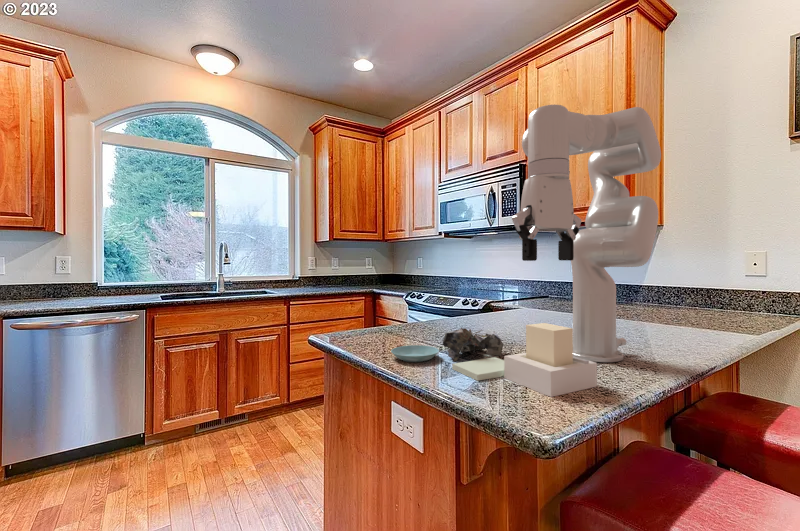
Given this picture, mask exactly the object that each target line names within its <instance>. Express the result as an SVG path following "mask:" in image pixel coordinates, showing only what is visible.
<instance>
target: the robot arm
mask: <svg viewBox="0 0 800 531" xmlns="http://www.w3.org/2000/svg"><path fill="white" fill-rule="evenodd" d="M521 148H522V150H523V153H524V154H525V156H526V157H527V179H525V180H524V183H523V187H522V188H523V189H522V194H521V200H520V211H518V212H517V213H515V214H514V215H512V216H511V220H512V222H513V225H514V226H515V227H514V229H515V232H516V233H517V234H518V235H519V236H518V237H519V240H521V242H522V243H521V256H522V258H521V259H522V261H525V262H526V261H527V262H531V261H532V262H535V261H537V260H538V240H537V239H536V236H537V234H538V232H543V233H544V232H547V233H548V232H551V233H552V232H556V233H557V235H558V237H559V239H560V240H558V247H557V248H558V249H557V250H558V251H557V252H558V254H557V255H558V257H557V258H558V261H570V264H571V270H572V271H571V272H572V328H573V357H577V358H581V359H584V360H588V361H592V362H596V363H615V362H621V361H623V360H624V353H623V352H621V351H619V347H622V346H623V347H624V346H626V345H627V339H626V338H624V337H619V338H618V337H617V286H616V285H617V284H616V282H615V280H614V279H613V278H612V276H611V274H609V273H608V271H607V270H606V269H605V268H633V267H634V268H635V267H636V268H638V267H642V266H645V265H646V264H647V263H648V262H649V260H650V258H651V255H652V251H653V246H654V243H655V237H656V232H657V230H658V229H657V228H658V223H659V208H658V205H657V203H656V200H655V199H653V198H652V197H650V196H647V195H634V196H630V191H629V189H628V188H627V186H626V185H625V184H624V183H623V182H621V181H620V180H618V179H616V178H615V177H621V176H627V175H633V174H634V175H635V174H641V173H643V174H644V173H647V172H651V171H653V170H655V169H656V168H658V167H659V165H660V162H661V160H662V150H661V146H660V143H659V139H658V136H657V133H656V129H655V126H654V123H653V120H652V119H651V117H650V115H649V113H648V112H647V110H645V109H644V108H643V107H639V106H634V107H631V108H627V109H622V110H619V111H615V112H610V113H606V114H605V113H604V114H586V115H585V114H584V113H579V112H573V111H569V109H568V108H567V107H566V106H564V105H561V104H547V105H542V106H539V107H537V108H535V109H533V110H532V111H531V112H530V113H529V115H528V119H527V128H526V130H525V131H524V133H523V135H522V138H521ZM587 153H590V156H589V157H588V160H587V170H588V176H589V180H590V185H591V188H592V191H593V196H592V199H591V202H590V204H589V207H588V209H587V212H586V216H585V220H584V225H585V228H583V229H580V227H581V225H582V224H581V223H582V219H581V218H580V217H579V216H577V214H575V213H574V197H573V196H574V195H573V190H572V183H571V179H570V174H571V173H570V156H577V155H582V154H587ZM579 229H580V230H579Z"/></svg>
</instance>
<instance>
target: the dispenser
mask: <svg viewBox="0 0 800 531" xmlns="http://www.w3.org/2000/svg"><path fill="white" fill-rule="evenodd" d="M503 360H504V376H503V377H504V379H505V380H509V381H511V382H513V383H516V384H518V385H521V386H522V387H526V388H528V389H531V390H533V391H535V392H537V393H540V394H543V395H545V396H548V397H550V398H552V397H556V396H561V395H562V396H563V395H566V394H571V393H574V392H578V391H584V390H588V389H591V388H596V387H597V386H598V372H597V371H598V362H593V361H588V360H584V359H581V358H577V357H573V364H571V365H565V366H560V367H553V366H549V365H546V364H543V363H540V362H537V361H534V360H531V359H528V358H526V352H522V353H516V354H508V355H504V357H503Z"/></svg>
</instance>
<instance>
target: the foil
mask: <svg viewBox="0 0 800 531" xmlns="http://www.w3.org/2000/svg"><path fill="white" fill-rule="evenodd" d="M482 331H483V329H482V330H479V331H476V332H475V333H473V332H472V329H471V328H469V330H468V329H467V328H466V327H460V328H459V329H456V330H452V331H446V332H445V333H444V337H443V340H442V346H441V347H442V348H443V347H446V348H447V352H448V353H447V356H446V357H447V358H449V359H453V360H452V362H453V363H455V362H458V361H459V358H460V356H461V354H462V352H464V353H467V352H470V353H472V354H475V352H476V351H482V350H486V354H488V355H491V356H492V355H493V356H494V357H501V355H502V352H503V348H504V343H503V340H502V339H501V338H500V336H499V335H498V334H497V333H496V332H495V331H493V333H492V334H490V333H485V335H483V334H478V333H480V332H482Z"/></svg>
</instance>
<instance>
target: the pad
mask: <svg viewBox="0 0 800 531" xmlns="http://www.w3.org/2000/svg"><path fill="white" fill-rule="evenodd" d="M451 367H452V368H451V369H452V370H454V371H456V372H458V373H459V374H462V375H464V376H467V377H469V378H470V377H471V378H470V379H473V380H474V381H477V382H479V381H484V380H488V379H490V380H491V379H494V378H495V379H496V378H501V377H504V359H501V358H499V357H497V356H494V357H487V358H479V359H474V360H468V361H463V362H462V361H461V362H453V363H452V366H451Z"/></svg>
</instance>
